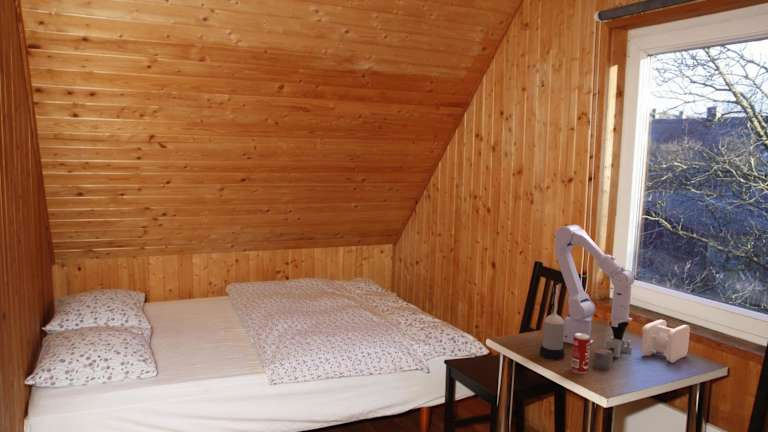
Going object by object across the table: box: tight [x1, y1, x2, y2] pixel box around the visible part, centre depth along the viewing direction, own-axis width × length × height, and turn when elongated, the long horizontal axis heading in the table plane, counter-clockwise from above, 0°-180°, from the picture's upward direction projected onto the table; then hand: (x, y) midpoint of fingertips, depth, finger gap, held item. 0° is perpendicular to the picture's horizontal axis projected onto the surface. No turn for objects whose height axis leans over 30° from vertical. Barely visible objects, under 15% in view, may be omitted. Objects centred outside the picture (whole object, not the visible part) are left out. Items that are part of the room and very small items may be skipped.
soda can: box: [570, 333, 591, 375], centre depth 190 cm, size 5×5×12 cm
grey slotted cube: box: [605, 337, 622, 358], centre depth 205 cm, size 4×4×5 cm
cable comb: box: [609, 335, 633, 354], centre depth 212 cm, size 2×8×4 cm, turn 55°
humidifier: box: [539, 284, 566, 361], centre depth 203 cm, size 8×8×25 cm
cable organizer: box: [640, 319, 691, 364], centre depth 207 cm, size 15×11×12 cm
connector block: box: [593, 349, 614, 371], centre depth 195 cm, size 3×5×5 cm, turn 54°
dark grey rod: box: [600, 348, 614, 353], centre depth 204 cm, size 21×4×4 cm, turn 144°
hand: (617, 341), depth 209 cm, fingers closed
